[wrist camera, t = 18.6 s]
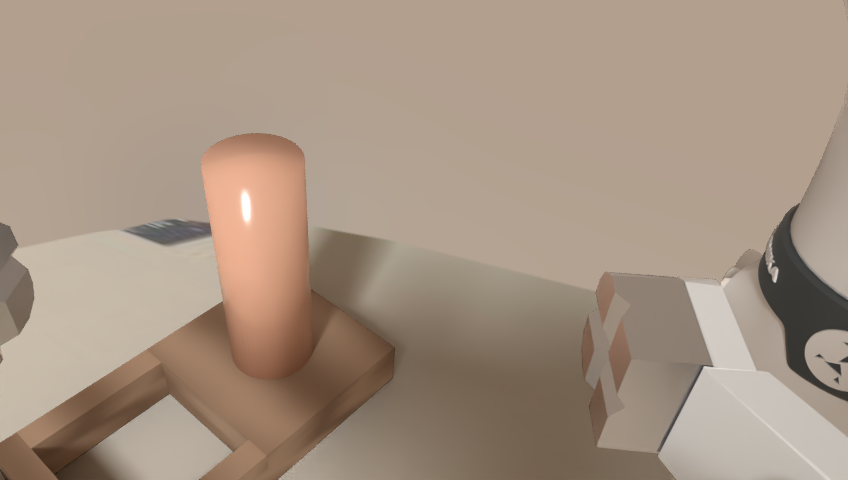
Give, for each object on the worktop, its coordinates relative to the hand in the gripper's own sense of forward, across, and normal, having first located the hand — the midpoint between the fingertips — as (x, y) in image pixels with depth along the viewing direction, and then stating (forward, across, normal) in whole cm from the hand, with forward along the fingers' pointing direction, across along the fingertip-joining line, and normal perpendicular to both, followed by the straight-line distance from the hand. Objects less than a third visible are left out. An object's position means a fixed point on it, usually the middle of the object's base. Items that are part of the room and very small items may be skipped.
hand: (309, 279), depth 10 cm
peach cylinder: (+22, +7, +27) cm, 35 cm away
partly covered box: (+18, +10, +30) cm, 36 cm away
